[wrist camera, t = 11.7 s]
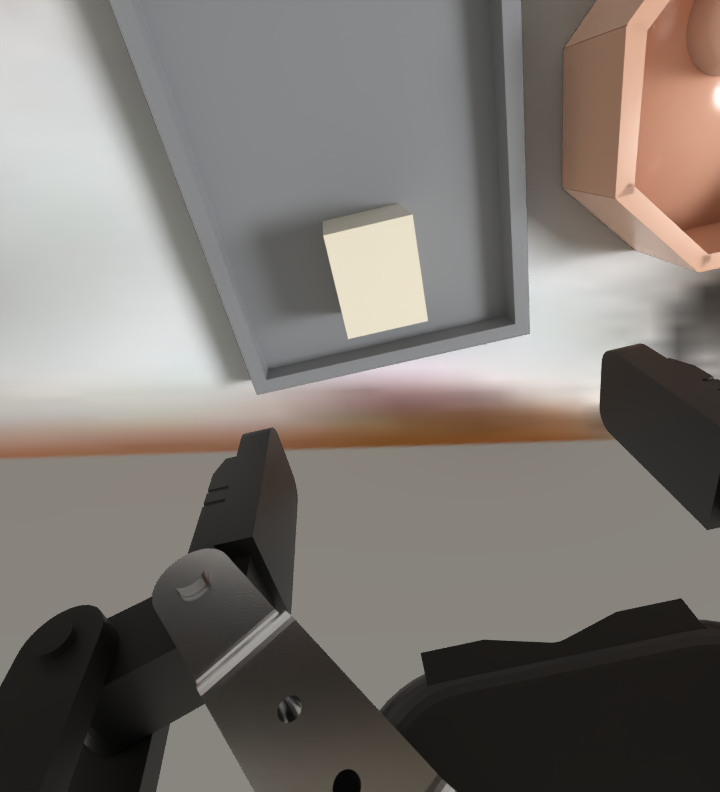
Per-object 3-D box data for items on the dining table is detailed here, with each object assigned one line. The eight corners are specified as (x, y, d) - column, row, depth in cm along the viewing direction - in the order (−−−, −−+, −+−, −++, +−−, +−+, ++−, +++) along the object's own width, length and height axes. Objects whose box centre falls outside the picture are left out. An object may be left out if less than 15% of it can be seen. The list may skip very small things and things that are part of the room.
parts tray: (93, -84, 18) (69, -108, 16) (495, -191, 17) (515, -228, 16) (260, 379, 28) (257, 395, 27) (516, 321, 28) (529, 333, 26)
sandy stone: (322, 221, 24) (323, 235, 20) (398, 203, 23) (412, 214, 20) (344, 312, 26) (348, 339, 23) (413, 296, 26) (428, 320, 22)
